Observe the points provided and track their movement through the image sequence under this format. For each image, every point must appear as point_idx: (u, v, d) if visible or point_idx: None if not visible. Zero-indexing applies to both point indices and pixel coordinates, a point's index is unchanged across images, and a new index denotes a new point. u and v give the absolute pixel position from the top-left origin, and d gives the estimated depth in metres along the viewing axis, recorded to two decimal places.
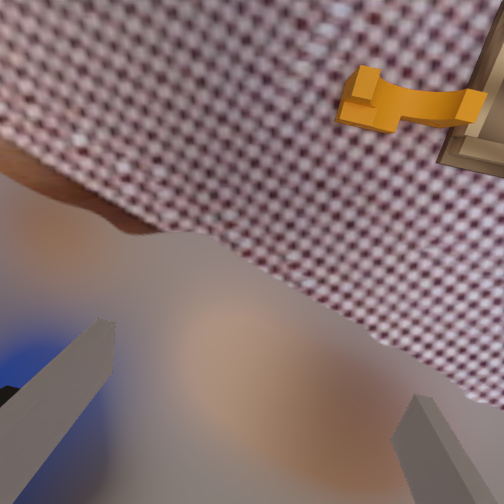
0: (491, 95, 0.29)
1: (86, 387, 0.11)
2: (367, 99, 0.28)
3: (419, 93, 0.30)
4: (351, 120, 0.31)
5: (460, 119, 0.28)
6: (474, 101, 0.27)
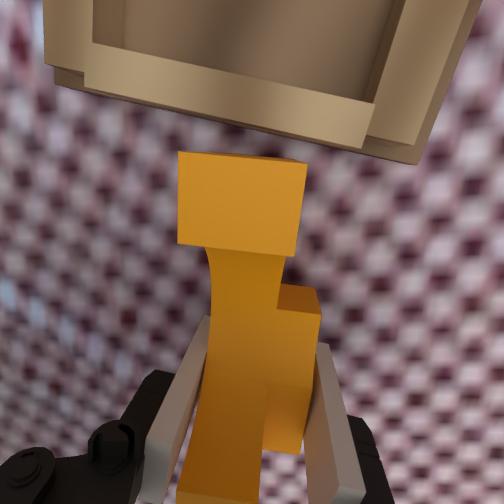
0: (255, 93, 0.10)
1: (203, 373, 0.13)
2: None
3: (217, 281, 0.11)
4: (301, 432, 0.12)
5: (295, 230, 0.06)
6: (218, 198, 0.06)
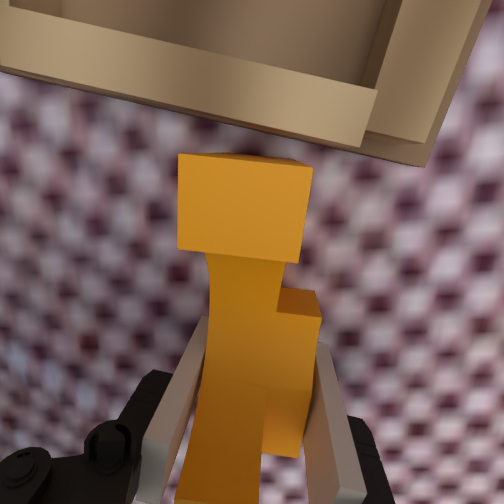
0: (224, 74, 0.08)
1: (202, 373, 0.13)
2: None
3: (216, 284, 0.11)
4: (300, 435, 0.12)
5: (299, 236, 0.06)
6: (220, 202, 0.06)
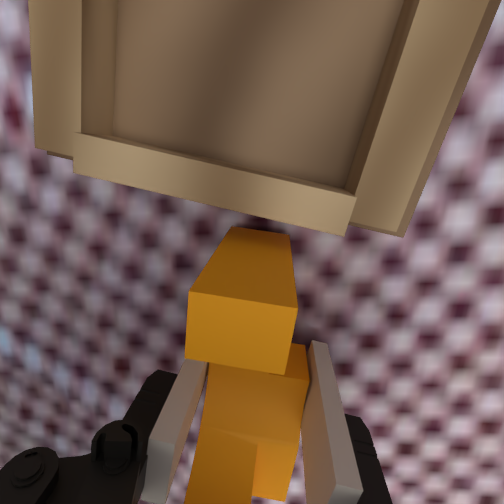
0: (240, 183, 0.10)
1: (205, 373, 0.13)
2: None
3: None
4: (287, 482, 0.13)
5: (286, 354, 0.07)
6: (221, 327, 0.07)
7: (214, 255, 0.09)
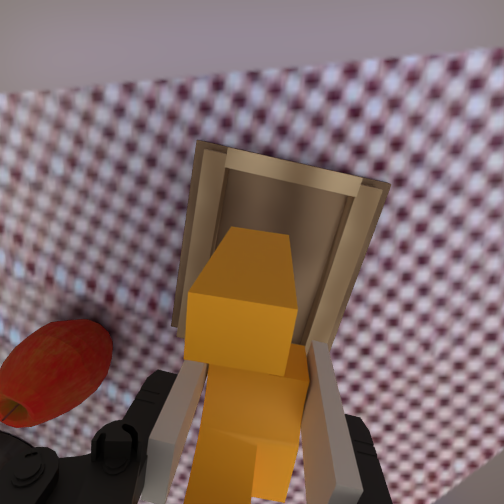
0: None
1: (205, 373, 0.13)
2: None
3: None
4: (286, 483, 0.13)
5: (285, 355, 0.07)
6: (221, 328, 0.07)
7: (214, 255, 0.09)
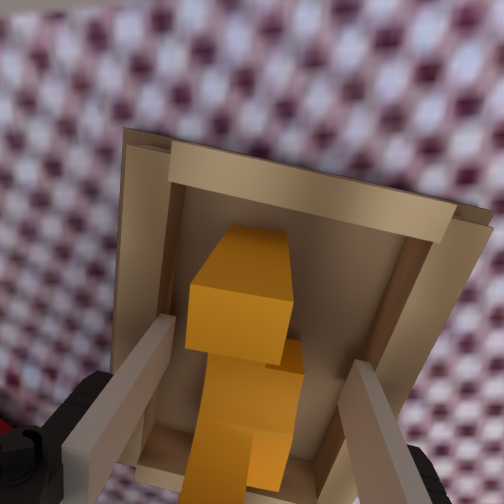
0: None
1: (156, 374, 0.12)
2: None
3: None
4: (281, 473, 0.14)
5: (281, 346, 0.08)
6: (221, 319, 0.07)
7: (214, 251, 0.10)
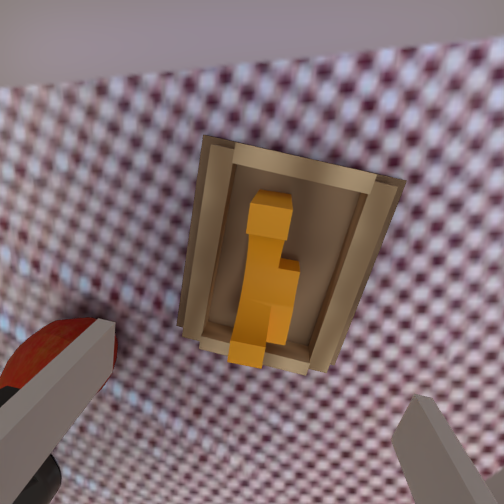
0: (265, 356, 0.26)
1: (86, 387, 0.11)
2: (264, 349, 0.21)
3: (250, 252, 0.22)
4: (286, 332, 0.24)
5: (287, 231, 0.18)
6: (262, 218, 0.18)
7: (255, 196, 0.20)
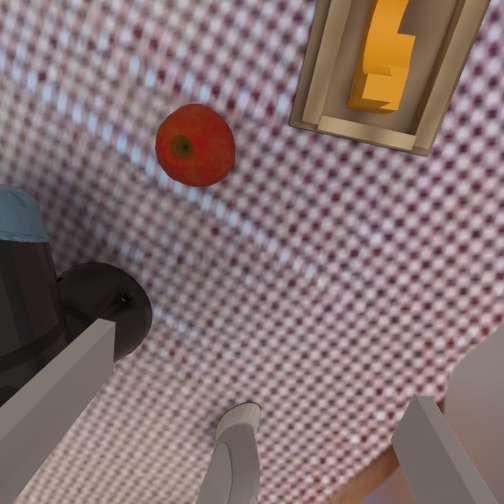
0: (377, 132, 0.30)
1: (86, 387, 0.11)
2: None
3: (375, 16, 0.27)
4: (400, 95, 0.28)
5: None
6: None
7: None
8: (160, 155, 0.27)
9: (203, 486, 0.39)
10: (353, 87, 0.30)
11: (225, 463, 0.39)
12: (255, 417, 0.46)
